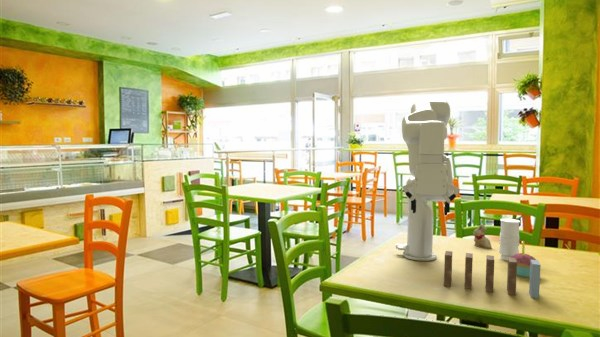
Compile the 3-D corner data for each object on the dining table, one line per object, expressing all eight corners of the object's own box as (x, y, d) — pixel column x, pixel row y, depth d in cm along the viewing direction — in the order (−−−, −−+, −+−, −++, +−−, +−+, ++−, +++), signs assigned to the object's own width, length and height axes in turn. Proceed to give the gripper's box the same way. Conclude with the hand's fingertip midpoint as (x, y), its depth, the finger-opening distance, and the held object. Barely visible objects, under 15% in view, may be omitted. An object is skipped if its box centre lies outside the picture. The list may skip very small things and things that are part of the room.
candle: (512, 256, 162) (513, 218, 161) (522, 261, 155) (524, 222, 154) (495, 256, 162) (496, 218, 161) (504, 261, 155) (506, 222, 154)
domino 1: (443, 286, 128) (444, 254, 128) (444, 281, 133) (445, 250, 132) (450, 287, 128) (451, 255, 127) (451, 281, 132) (452, 251, 132)
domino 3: (485, 291, 124) (487, 259, 123) (485, 286, 128) (486, 255, 128) (493, 292, 123) (494, 260, 122) (492, 287, 128) (493, 255, 127)
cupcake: (536, 280, 134) (538, 244, 133) (507, 275, 138) (508, 240, 138) (537, 273, 141) (539, 238, 140) (509, 269, 146) (511, 235, 145)
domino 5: (531, 297, 119) (532, 264, 118) (529, 291, 124) (530, 259, 123) (539, 298, 118) (540, 264, 118) (536, 292, 123) (538, 260, 122)
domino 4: (508, 294, 121) (509, 261, 121) (506, 289, 126) (508, 257, 125) (515, 295, 121) (517, 262, 120) (514, 290, 125) (515, 257, 125)
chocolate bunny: (483, 244, 181) (484, 221, 180) (493, 248, 173) (494, 225, 172) (471, 244, 180) (472, 221, 180) (480, 249, 173) (481, 225, 172)
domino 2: (464, 288, 126) (465, 257, 125) (464, 283, 131) (465, 252, 130) (471, 289, 125) (472, 257, 125) (471, 284, 130) (472, 253, 129)
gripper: (460, 160, 130) (459, 213, 131) (404, 159, 137) (403, 209, 138) (460, 161, 123) (458, 217, 125) (401, 160, 130) (400, 213, 131)
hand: (429, 213), depth 131 cm, fingers open, 9 cm apart
